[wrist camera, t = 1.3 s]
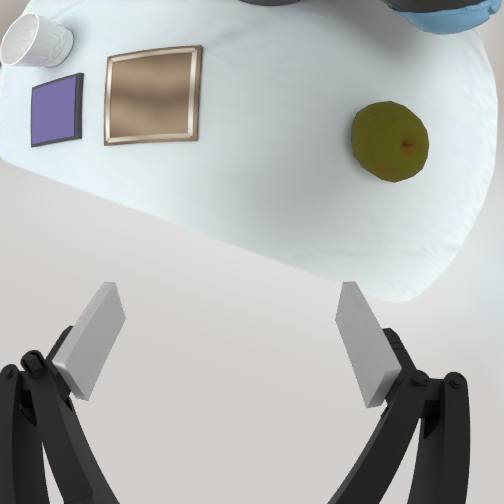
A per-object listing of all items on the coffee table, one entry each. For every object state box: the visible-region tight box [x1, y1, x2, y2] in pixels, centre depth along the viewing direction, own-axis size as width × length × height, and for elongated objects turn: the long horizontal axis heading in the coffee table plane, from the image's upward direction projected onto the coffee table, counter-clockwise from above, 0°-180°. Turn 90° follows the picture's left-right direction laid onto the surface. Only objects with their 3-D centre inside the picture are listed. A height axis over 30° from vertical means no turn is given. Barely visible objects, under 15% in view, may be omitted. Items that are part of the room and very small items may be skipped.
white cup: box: [0, 12, 74, 67], centre depth 21 cm, size 8×8×10 cm
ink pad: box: [31, 73, 84, 148], centre depth 29 cm, size 10×10×1 cm
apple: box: [351, 101, 429, 183], centre depth 29 cm, size 10×10×11 cm
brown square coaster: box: [104, 45, 202, 146], centre depth 30 cm, size 13×13×1 cm
